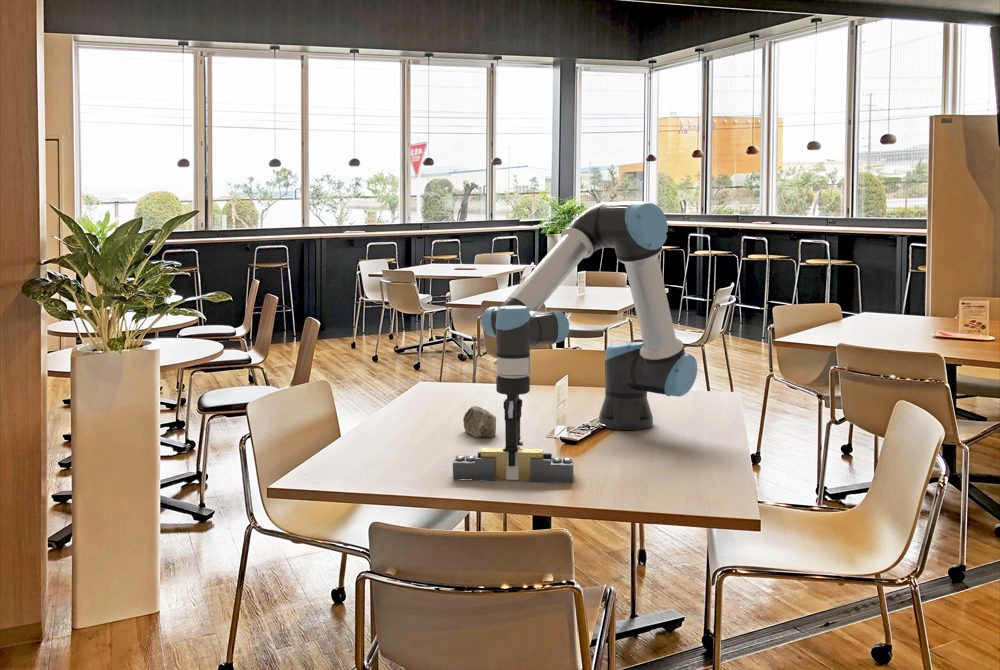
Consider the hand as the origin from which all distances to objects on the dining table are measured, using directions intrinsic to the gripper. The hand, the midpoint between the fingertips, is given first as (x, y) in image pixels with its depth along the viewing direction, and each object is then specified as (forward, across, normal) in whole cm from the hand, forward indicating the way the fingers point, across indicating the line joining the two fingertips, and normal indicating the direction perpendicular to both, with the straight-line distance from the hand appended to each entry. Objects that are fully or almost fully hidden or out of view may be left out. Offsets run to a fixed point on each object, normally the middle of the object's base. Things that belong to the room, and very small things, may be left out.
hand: (513, 476), depth 203 cm
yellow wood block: (0, 0, 0) cm, 0 cm away
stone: (0, -39, -13) cm, 41 cm away
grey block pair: (0, 0, 0) cm, 0 cm away
